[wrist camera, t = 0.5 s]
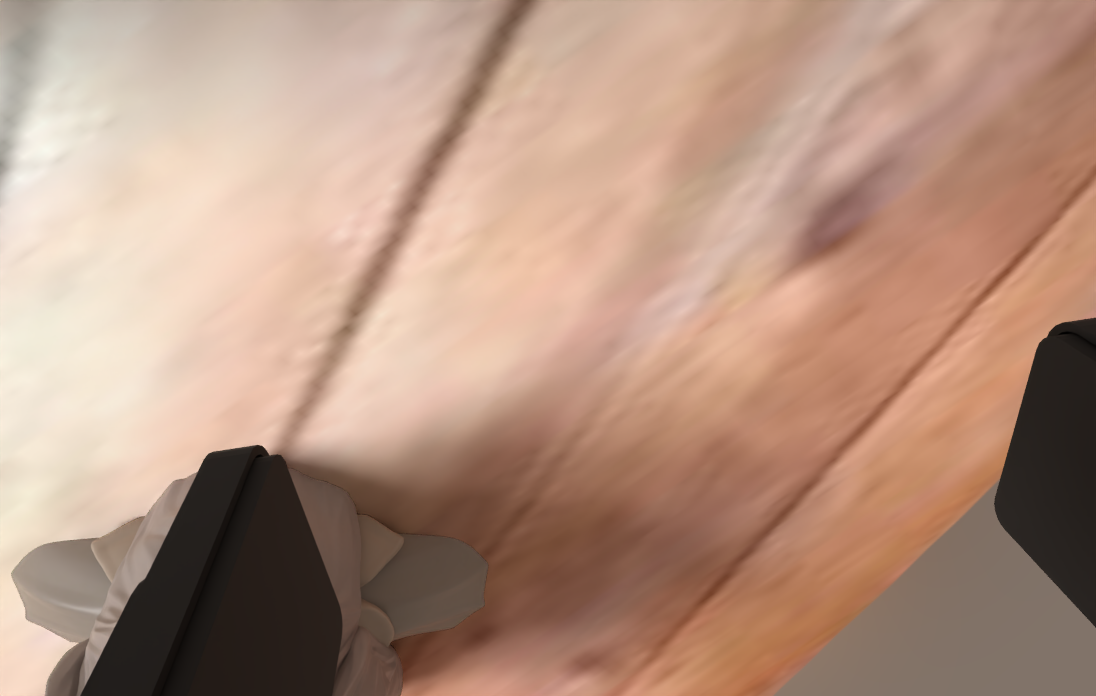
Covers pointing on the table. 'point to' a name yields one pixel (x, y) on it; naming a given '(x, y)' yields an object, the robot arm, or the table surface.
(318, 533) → the bust
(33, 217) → the table surface
